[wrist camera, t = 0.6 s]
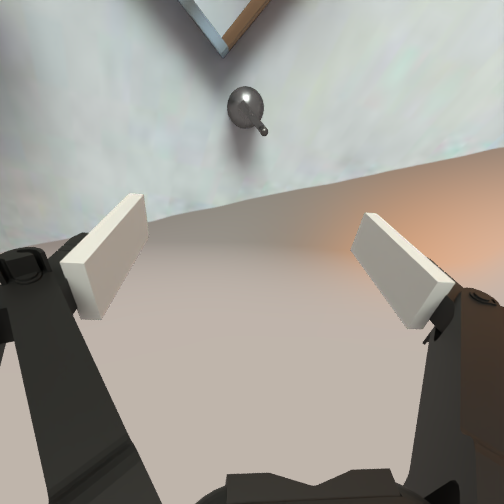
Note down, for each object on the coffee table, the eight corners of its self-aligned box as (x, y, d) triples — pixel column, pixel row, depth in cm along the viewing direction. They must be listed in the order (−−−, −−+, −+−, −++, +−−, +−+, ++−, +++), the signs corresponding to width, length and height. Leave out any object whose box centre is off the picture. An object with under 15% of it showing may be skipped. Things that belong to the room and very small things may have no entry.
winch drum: (221, 105, 39) (217, 108, 31) (245, 78, 37) (247, 75, 30) (250, 138, 42) (252, 148, 34) (273, 115, 40) (281, 120, 32)
